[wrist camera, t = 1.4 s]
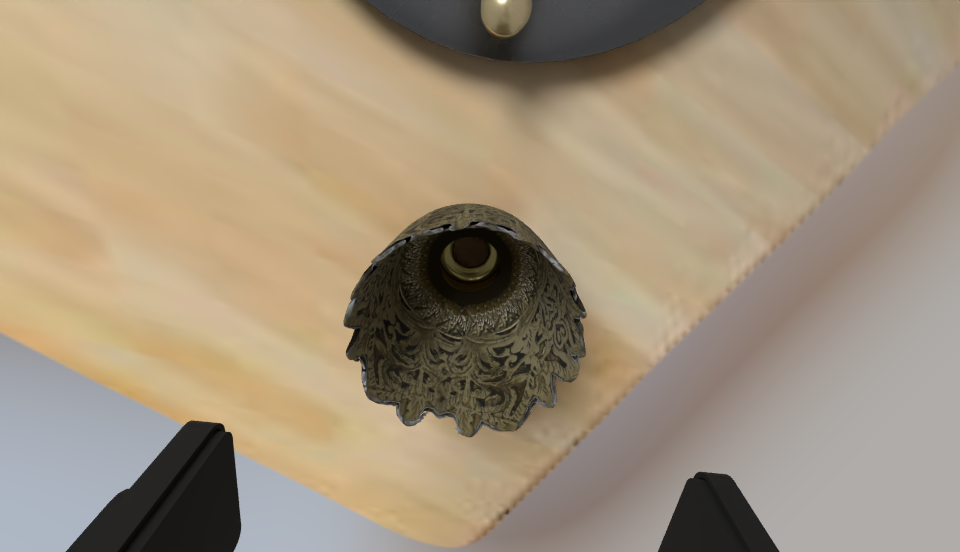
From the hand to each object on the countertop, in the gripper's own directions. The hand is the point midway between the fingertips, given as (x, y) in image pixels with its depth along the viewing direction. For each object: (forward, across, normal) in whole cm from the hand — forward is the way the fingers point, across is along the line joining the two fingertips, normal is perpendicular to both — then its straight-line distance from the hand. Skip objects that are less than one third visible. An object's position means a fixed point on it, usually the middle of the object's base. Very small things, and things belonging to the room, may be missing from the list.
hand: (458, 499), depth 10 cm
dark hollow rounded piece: (+13, 0, -1) cm, 13 cm away
